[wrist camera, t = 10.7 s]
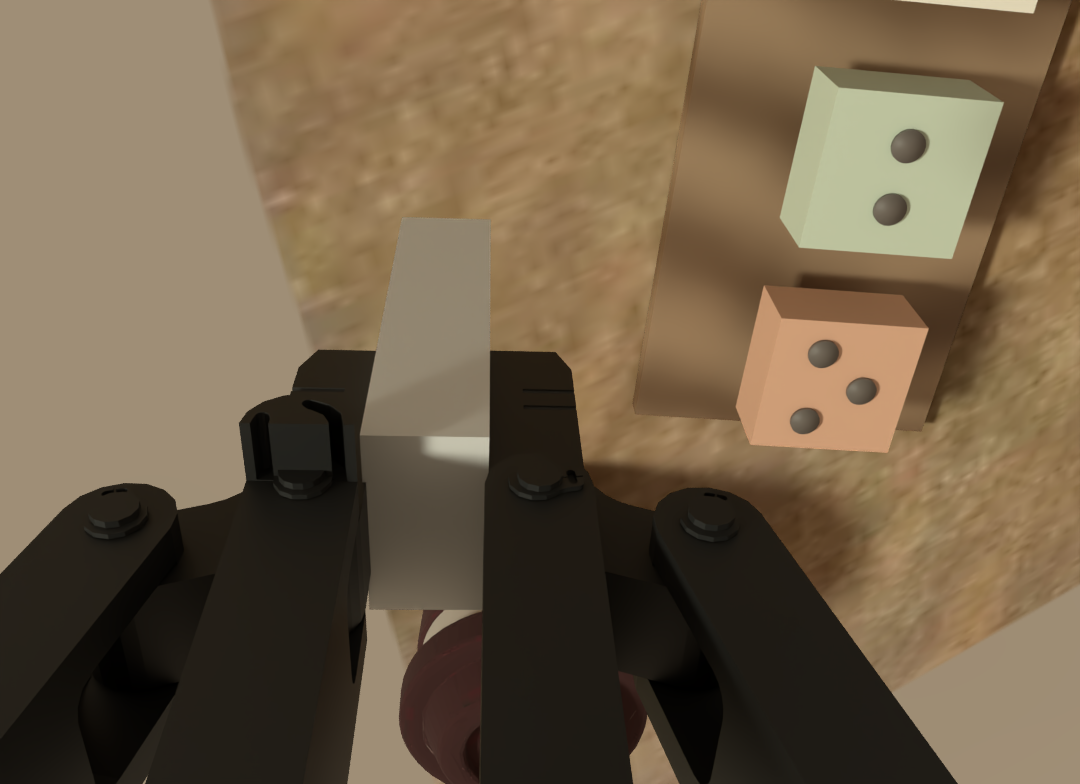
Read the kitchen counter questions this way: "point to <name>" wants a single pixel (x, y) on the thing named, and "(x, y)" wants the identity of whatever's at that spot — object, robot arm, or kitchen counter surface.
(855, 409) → the tile three
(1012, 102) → the key board
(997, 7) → the tile one
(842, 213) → the tile two
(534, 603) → the robot arm
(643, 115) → the kitchen counter surface
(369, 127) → the kitchen counter surface
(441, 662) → the coffee cup
